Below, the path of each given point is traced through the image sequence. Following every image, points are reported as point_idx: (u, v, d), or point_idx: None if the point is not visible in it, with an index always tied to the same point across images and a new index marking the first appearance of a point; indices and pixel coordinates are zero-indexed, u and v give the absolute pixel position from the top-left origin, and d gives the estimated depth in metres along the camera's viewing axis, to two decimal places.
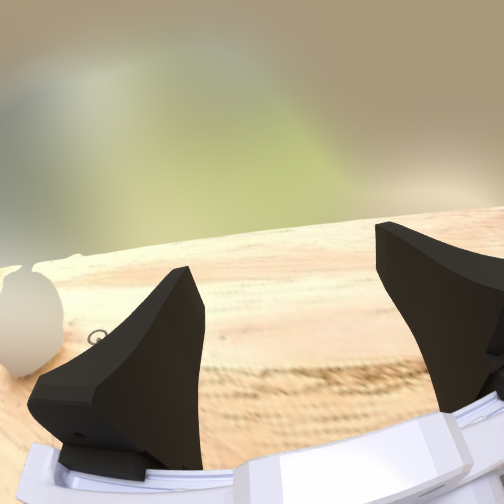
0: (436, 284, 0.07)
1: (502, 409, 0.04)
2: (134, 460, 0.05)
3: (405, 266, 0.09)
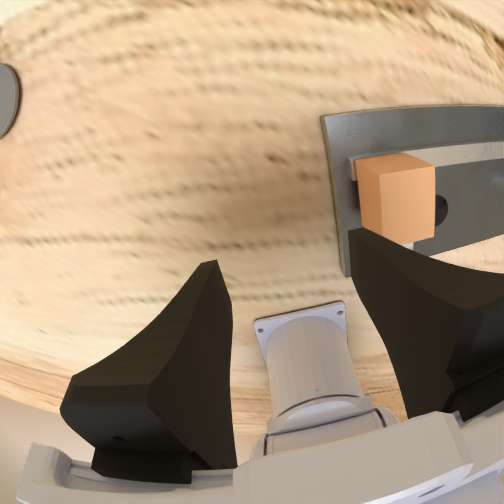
0: (401, 295, 0.07)
1: (502, 409, 0.04)
2: (182, 462, 0.05)
3: (374, 274, 0.09)
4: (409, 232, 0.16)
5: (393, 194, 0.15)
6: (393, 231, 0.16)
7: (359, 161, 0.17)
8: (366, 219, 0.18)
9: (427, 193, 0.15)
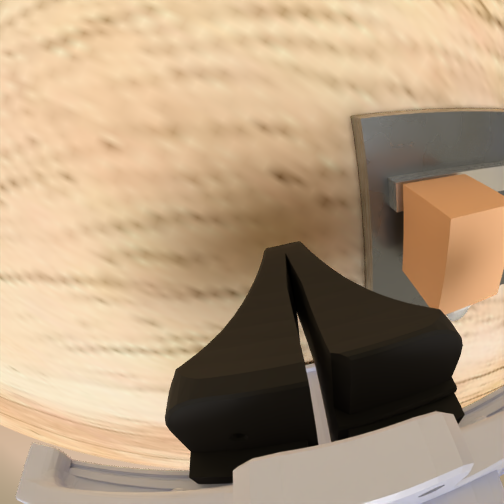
0: (310, 319, 0.07)
1: (502, 409, 0.04)
2: None
3: (298, 293, 0.09)
4: (472, 293, 0.10)
5: (464, 245, 0.09)
6: (454, 294, 0.10)
7: (410, 187, 0.11)
8: (411, 267, 0.12)
9: (501, 240, 0.09)
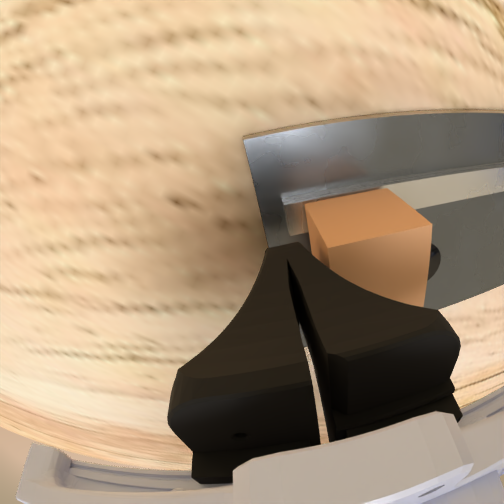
0: (308, 319, 0.07)
1: (502, 409, 0.04)
2: None
3: (296, 293, 0.09)
4: None
5: (354, 275, 0.09)
6: None
7: (309, 207, 0.11)
8: None
9: (415, 267, 0.09)
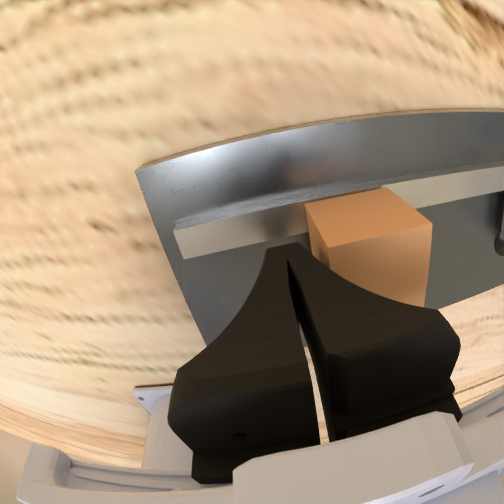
0: (308, 319, 0.07)
1: (502, 409, 0.04)
2: None
3: (296, 293, 0.09)
4: None
5: (355, 275, 0.09)
6: None
7: (309, 207, 0.11)
8: None
9: (416, 267, 0.09)
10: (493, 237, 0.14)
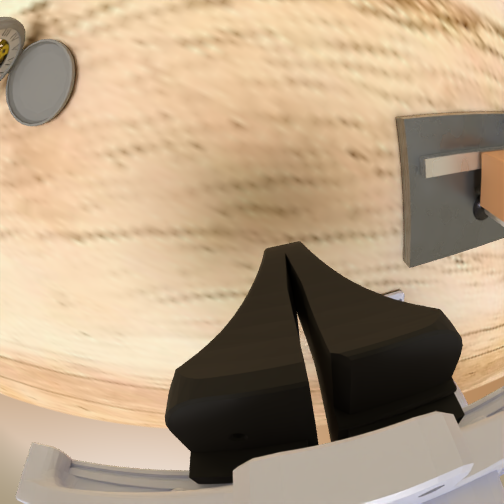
0: (310, 318, 0.07)
1: (502, 409, 0.04)
2: None
3: (298, 292, 0.09)
4: None
5: None
6: None
7: (486, 153, 0.16)
8: (487, 201, 0.18)
9: None
10: None
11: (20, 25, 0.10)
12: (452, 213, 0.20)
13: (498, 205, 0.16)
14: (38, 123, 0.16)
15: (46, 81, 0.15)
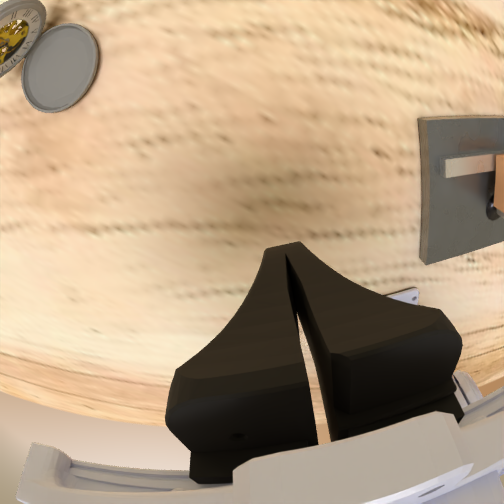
0: (310, 318, 0.07)
1: (502, 409, 0.04)
2: None
3: (298, 292, 0.09)
4: None
5: None
6: None
7: (500, 156, 0.16)
8: (501, 201, 0.18)
9: None
10: None
11: (42, 7, 0.10)
12: (467, 213, 0.20)
13: None
14: (56, 110, 0.16)
15: (66, 67, 0.15)
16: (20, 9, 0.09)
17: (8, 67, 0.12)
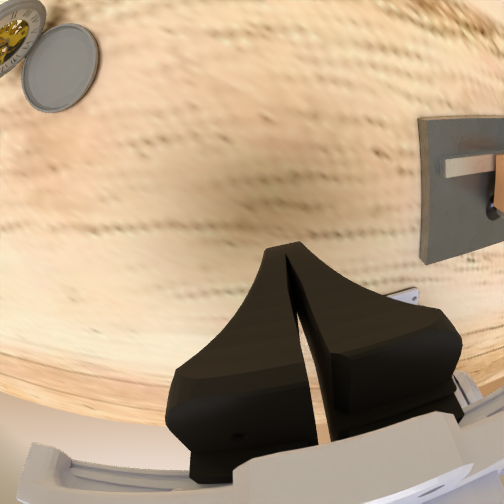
0: (310, 318, 0.07)
1: (502, 409, 0.04)
2: None
3: (298, 292, 0.09)
4: None
5: None
6: None
7: (500, 156, 0.16)
8: (501, 201, 0.18)
9: None
10: None
11: (42, 7, 0.10)
12: (467, 213, 0.20)
13: None
14: (56, 110, 0.16)
15: (66, 67, 0.15)
16: (20, 9, 0.09)
17: (8, 67, 0.12)
